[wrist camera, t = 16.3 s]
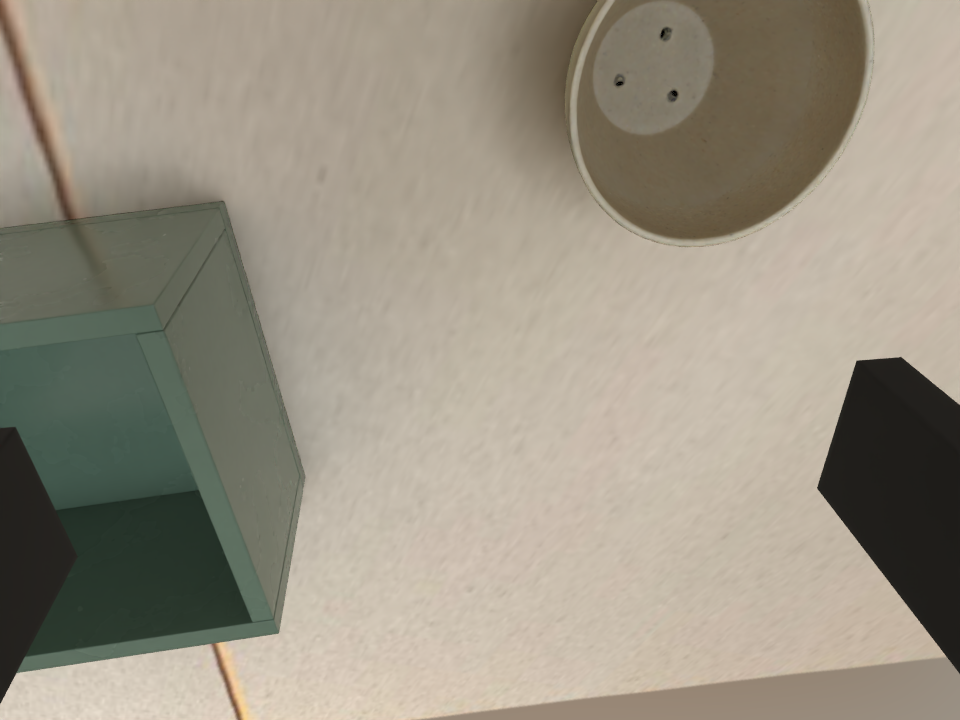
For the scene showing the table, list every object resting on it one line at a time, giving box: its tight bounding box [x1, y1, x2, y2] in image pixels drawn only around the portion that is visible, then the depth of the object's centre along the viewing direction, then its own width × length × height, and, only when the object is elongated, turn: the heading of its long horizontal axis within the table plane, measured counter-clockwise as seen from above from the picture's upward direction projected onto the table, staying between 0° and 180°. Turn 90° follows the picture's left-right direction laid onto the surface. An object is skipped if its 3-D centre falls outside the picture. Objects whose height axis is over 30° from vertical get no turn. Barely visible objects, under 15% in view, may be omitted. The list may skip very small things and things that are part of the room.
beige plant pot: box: [565, 0, 874, 247], centre depth 25 cm, size 10×10×7 cm
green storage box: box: [0, 201, 305, 673], centre depth 28 cm, size 19×15×10 cm
